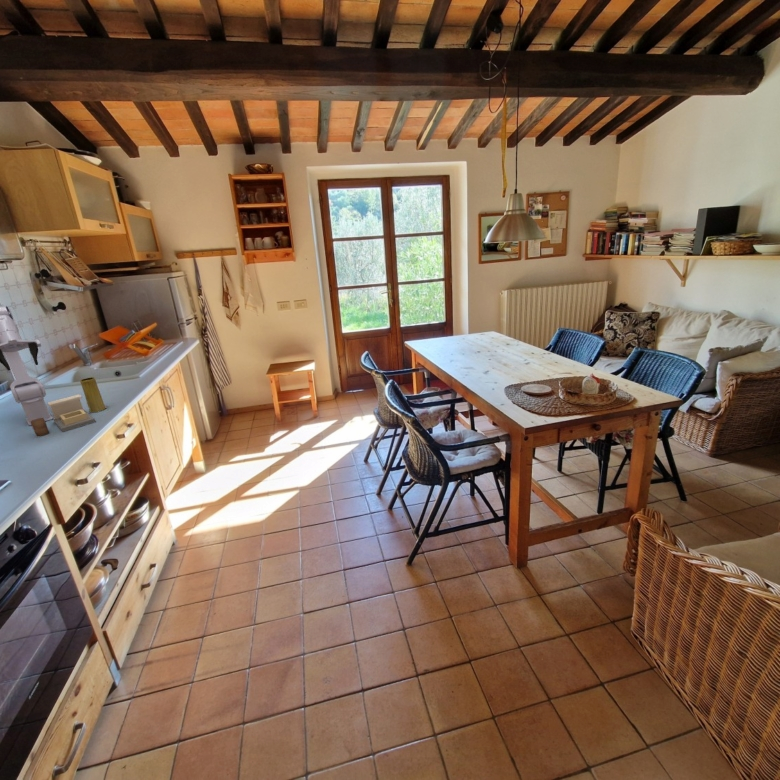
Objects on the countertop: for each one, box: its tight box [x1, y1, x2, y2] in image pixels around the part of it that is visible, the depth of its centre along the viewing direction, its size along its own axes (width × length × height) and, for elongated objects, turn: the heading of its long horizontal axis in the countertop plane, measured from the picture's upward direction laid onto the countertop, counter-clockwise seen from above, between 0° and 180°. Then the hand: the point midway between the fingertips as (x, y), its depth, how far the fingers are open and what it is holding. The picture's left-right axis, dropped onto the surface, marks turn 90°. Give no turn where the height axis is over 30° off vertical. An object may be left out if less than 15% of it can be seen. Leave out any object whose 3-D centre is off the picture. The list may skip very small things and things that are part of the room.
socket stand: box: [46, 393, 97, 433], centre depth 166 cm, size 16×11×9 cm
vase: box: [79, 376, 107, 413], centre depth 177 cm, size 6×6×14 cm
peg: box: [31, 418, 50, 438], centre depth 157 cm, size 4×4×6 cm
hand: (23, 366), depth 144 cm, fingers open, 7 cm apart
